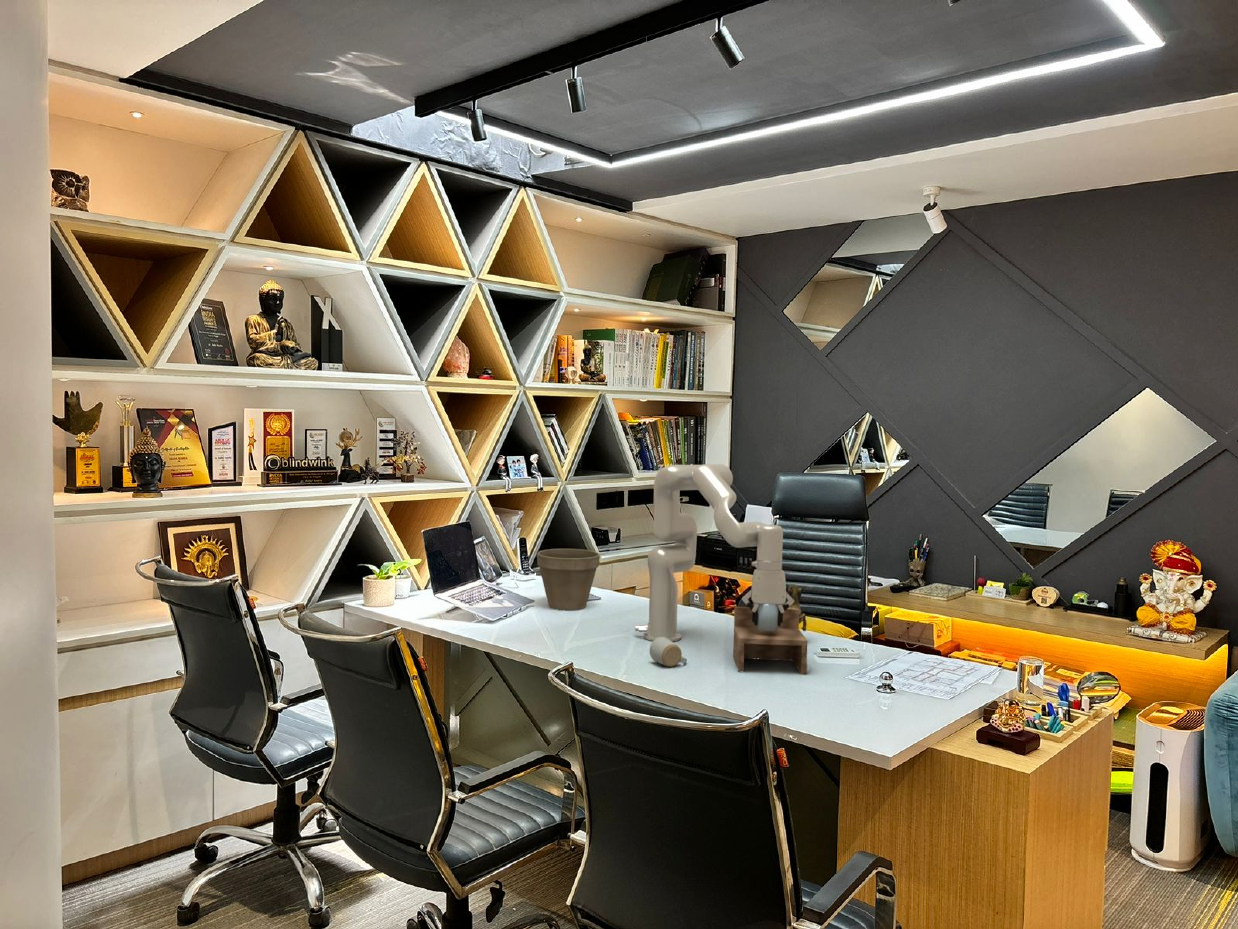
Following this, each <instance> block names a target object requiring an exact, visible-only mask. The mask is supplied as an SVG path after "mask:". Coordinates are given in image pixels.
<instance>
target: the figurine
mask: <svg viewBox="0 0 1238 929" xmlns="http://www.w3.org/2000/svg"><path fill="white" fill-rule="evenodd" d="M786 592H787V593H788V594H789V595H790V596H791V597H792V598H793V600H794V603H793V604H792V605H791V606H789V608H788V609H799V625H800V624H801V623H802V627H801V631H803V632H807V625H808V624H807V619H806V614H805V613H802V610H801V605H800V602H801V599H802V598H801V597H803V596H802V593H803V592H802V588H801V587H800V585H798V584H790V585H789V586H788V589H787V590H786ZM786 601H788V599H787V598H786Z"/></svg>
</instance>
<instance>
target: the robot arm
mask: <svg viewBox="0 0 1238 929" xmlns="http://www.w3.org/2000/svg"><path fill="white" fill-rule="evenodd" d="M733 479H734V476H733V473H732V471H731V469H730V468H729V467H728V466H727V465H725V464H721V463H715V464H714V463H709V464H708V463H707V464H706V463H705V464H671V465H667V466H664V467H662V468H660V469H659V470H658V472H657V473H656V475H655V477H654V484H653V490H654V491H653V492H654V516H653V534H654V537H655V539H656V540H657V541H660V542H664V543H668V542H669V543H671V542H674V544H666V545H665V544H664V545H659V546H656V547H654V548H652V549H651V550H649V553H648V554H647V567H648V573H649V604H648V605H649V607H648V608H649V610H648V623H647V624H645V625H638V624H637V625H635V632H638V633H644V634H643V638H644V639H645V640H647V641H651V642H653V641H654V640H655V639H656V638H659V637H665V638H667V639H668V640H670V641H672V642H673V643H675V642H678V641H680V640H681V639H682V635H681V634H680V633H678V632H677V628H678V626H677V625H678V624H677V623H678V594H679V593H678V591H679V590H678V588H679V586H678V583H677V579H676V578H675V575H674V574H676V573H684V572H688V571H690V570H691V569H692V568H693V567H694V565H695V561H696V556H697V552H696V551H697V537H698V536H697V535H698V526H697V522H696V521H695V519H694V517H693V516H692V515H691V514H689V513H686V512H680V511H681V501H680V497H679V494H678V493H677V491H699V493H700V494H701V496H703V498H704V499H705V500H706V502H707V503H708V504H709V505H710V507H711V508H712V509H713V520H714V524H715V528H716V529H717V532H718V533H719V534H720V535H721V536H722V537H723V539H724V540H725V541H726V542H727V543H728V544H729V545H731V547H734V548H737V549H738V548H747V547H748V548H750V547H757V548H756V560H754V561H751V566H752V567H754V568H756V569H754V571H753V575H752V579H751V589H750V590H749V591H748V592H747V593H746V594H745V595H743V596H742V598H741V601H742V602H743V603H744V604H745V605H746V607H749V608H750V609H751V610H752V622H754V625H757V621H758V612H757V608H758V606H759V604H776V605H778V607H779V610H778V626H781V623H783V613H784V611H786V610H787V609H788V608H789V606H791V605H792V604H793V603H794V600H793V598H792V597H791V596H790V595H789V594H788V593H787V584H786V583H787V582H786V573H785V571H784V570H783V548H784V547H783V546H784V545H783V543H784V529H783V528H782V526H780V525H776V524H767V523H763V522H761V521H743V522H739V521H738V520H737V519H736V518H735V517H734V515H733V514H732V513H731V511H730V509H731V508H732V507H733V506H734V505H735V503H736V501H737V494H736V493H735V491H734V490H733V489H732V488H731V486H732V485H733ZM749 599H751V601H752V603H753V604H752V603H751V602H750V601H749ZM787 599H788V600H787Z"/></svg>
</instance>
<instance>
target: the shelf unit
mask: <svg viewBox="0 0 1238 929" xmlns="http://www.w3.org/2000/svg"><path fill="white" fill-rule="evenodd" d="M778 610H779V609H778ZM733 615H734V617H733V618H734V621H733V645H732V646H733V647H732V648H733V649H732V652H733V653H732V659H733V658H734V659H733V661H734V665H735V666H736V670H737V669H738V670H737V672H738V671H743V672H744V666H745V665H744V663H745V661H744V660H745V659H744V658H756V659H755V660H766V659H778V660H777V661H792V662H793V661H794V662H793V663H794V665H795V664H796V665H795V667H796V668H797V667H798V668H797V669H799V670H798V671H799V673H800V675H807V667H808V666H807V665H808V640H807V638H806V637H805V635H804V634H803V632H802V630H800V629H799V628H800V624H799V609H787V610H786V611H784V613H783V623H781V626H778V630H776V631H763V630H758V629H757V628H756V625H754V622H752V610H751V609H750V608H749V607H748V606H734V612H733ZM757 658H759V659H757Z"/></svg>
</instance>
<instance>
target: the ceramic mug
mask: <svg viewBox="0 0 1238 929" xmlns="http://www.w3.org/2000/svg"><path fill="white" fill-rule="evenodd" d="M682 654H683V653H682V650H681V648H680V646H679V645H677V643H675V642H672V641H670V640H668V639H667V638H665V637H659V638H656V639H655V640H654V641H651V643H650V645H649V656H650V657H651V659H652V660H653V661H654V662H656V663H659V664H661V665H663V666H664V667H667V668H668V667H669V668H671V667H675V666H677V665H678V664H679V663H682V664H686V663H687V661H688V659H687V658H686V657H684V656H682Z"/></svg>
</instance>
